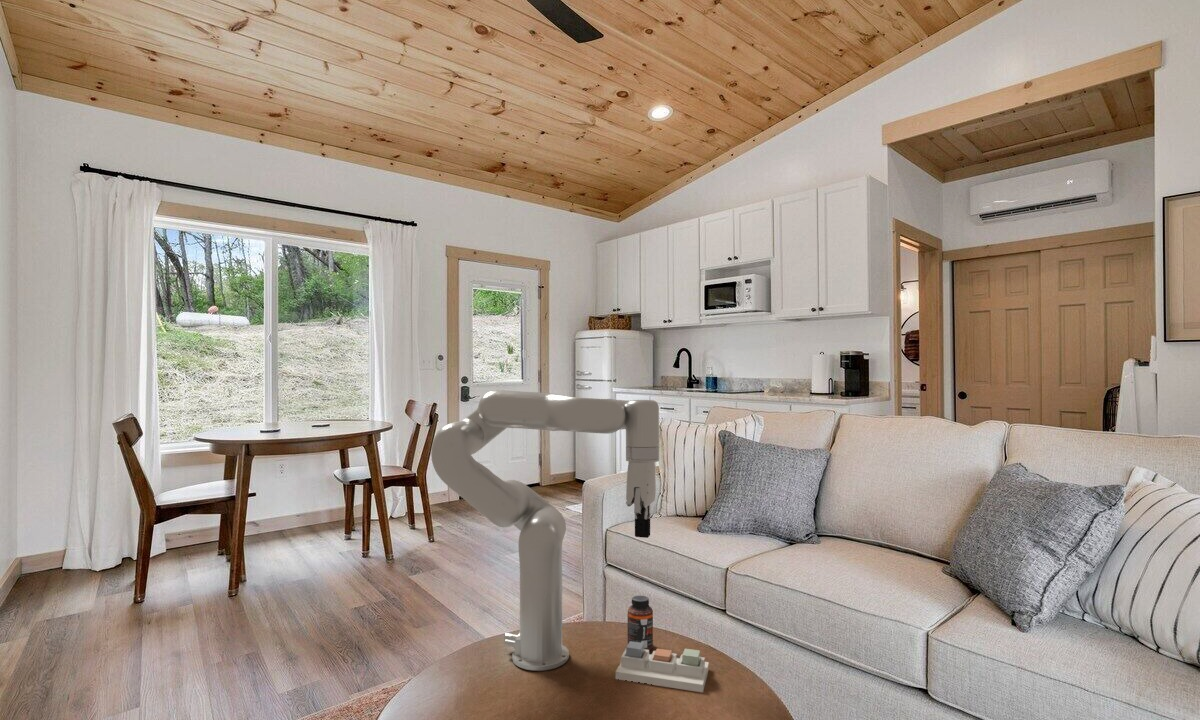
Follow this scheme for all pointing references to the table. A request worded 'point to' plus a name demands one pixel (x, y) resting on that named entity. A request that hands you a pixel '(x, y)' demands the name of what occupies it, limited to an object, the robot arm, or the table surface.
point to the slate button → (635, 649)
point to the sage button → (691, 657)
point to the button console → (663, 672)
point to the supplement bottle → (640, 622)
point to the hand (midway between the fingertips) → (642, 536)
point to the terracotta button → (663, 655)
